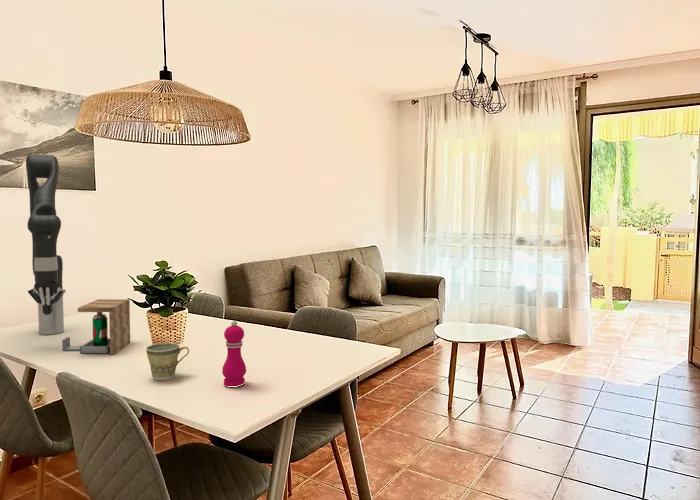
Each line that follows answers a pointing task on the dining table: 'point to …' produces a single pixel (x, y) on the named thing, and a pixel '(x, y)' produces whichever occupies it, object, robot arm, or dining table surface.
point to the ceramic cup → (164, 359)
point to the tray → (86, 347)
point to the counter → (113, 320)
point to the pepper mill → (234, 356)
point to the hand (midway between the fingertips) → (47, 314)
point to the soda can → (100, 330)
